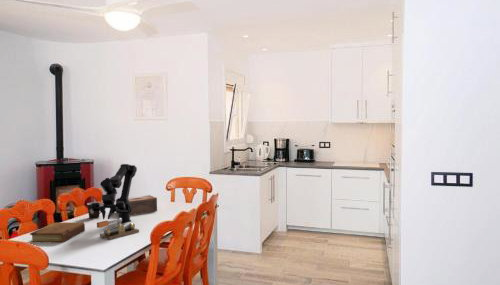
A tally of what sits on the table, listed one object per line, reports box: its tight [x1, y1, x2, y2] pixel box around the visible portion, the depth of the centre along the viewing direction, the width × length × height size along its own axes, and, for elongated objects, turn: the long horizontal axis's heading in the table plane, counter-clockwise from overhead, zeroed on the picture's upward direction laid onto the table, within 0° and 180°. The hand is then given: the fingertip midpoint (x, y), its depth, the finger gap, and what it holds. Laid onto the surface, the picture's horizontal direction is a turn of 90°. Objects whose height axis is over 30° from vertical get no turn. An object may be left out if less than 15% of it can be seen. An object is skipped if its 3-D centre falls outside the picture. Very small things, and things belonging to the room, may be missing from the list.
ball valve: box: [99, 222, 140, 240], centre depth 216 cm, size 19×10×7 cm, turn 140°
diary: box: [29, 222, 86, 244], centre depth 214 cm, size 23×19×6 cm
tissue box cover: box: [115, 194, 158, 216], centre depth 275 cm, size 26×14×10 cm, turn 126°
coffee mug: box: [86, 201, 107, 220], centre depth 258 cm, size 12×9×10 cm
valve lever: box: [96, 217, 122, 229], centre depth 211 cm, size 3×15×3 cm, turn 143°
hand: (105, 219), depth 216 cm, fingers open, 2 cm apart
